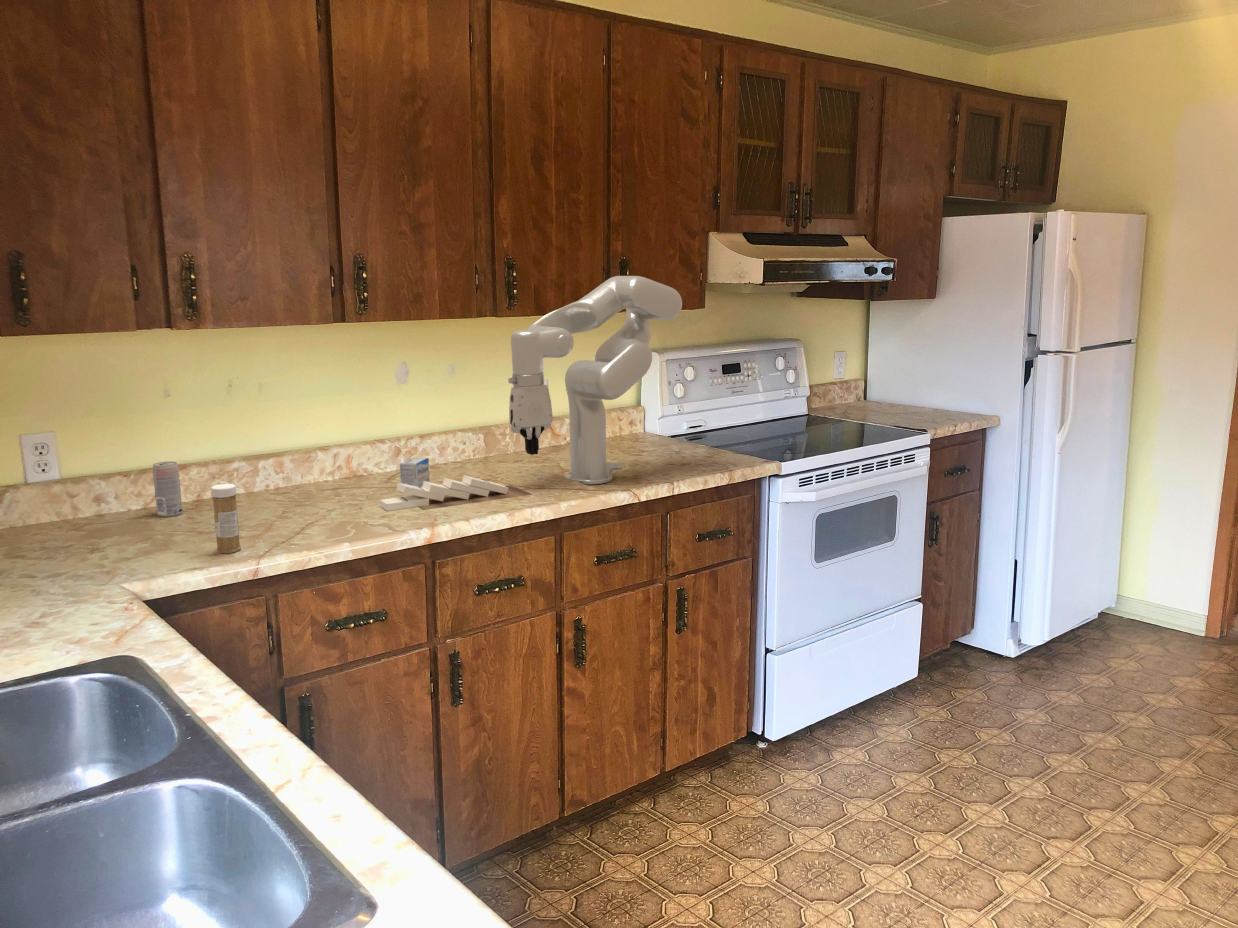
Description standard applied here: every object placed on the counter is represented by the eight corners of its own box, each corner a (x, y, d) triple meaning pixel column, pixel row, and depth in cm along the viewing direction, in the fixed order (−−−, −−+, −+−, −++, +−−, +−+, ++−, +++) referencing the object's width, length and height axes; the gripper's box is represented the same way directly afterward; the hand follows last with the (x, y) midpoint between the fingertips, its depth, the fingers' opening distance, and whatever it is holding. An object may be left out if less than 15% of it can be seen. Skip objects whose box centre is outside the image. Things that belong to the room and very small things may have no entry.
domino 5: (499, 483, 239) (463, 474, 234) (508, 487, 235) (472, 478, 229) (497, 490, 239) (461, 481, 234) (506, 494, 235) (469, 485, 229)
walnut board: (511, 489, 245) (511, 485, 245) (532, 498, 235) (532, 494, 235) (405, 504, 231) (405, 499, 230) (423, 514, 221) (422, 509, 220)
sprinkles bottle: (218, 548, 195) (212, 483, 192) (242, 546, 196) (236, 482, 194) (215, 555, 191) (209, 488, 188) (239, 553, 192) (234, 487, 189)
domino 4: (481, 486, 237) (444, 477, 231) (489, 490, 232) (452, 481, 227) (479, 493, 237) (442, 484, 231) (487, 497, 232) (450, 488, 227)
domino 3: (461, 488, 234) (423, 480, 228) (469, 492, 230) (431, 484, 224) (459, 495, 234) (421, 487, 228) (467, 500, 230) (429, 491, 224)
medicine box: (418, 498, 237) (416, 463, 235) (401, 497, 238) (399, 463, 236) (430, 491, 245) (429, 457, 243) (414, 490, 245) (412, 457, 244)
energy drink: (177, 510, 227) (172, 460, 224) (186, 514, 223) (181, 463, 221) (153, 514, 223) (148, 463, 221) (162, 518, 219) (156, 466, 217)
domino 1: (421, 493, 229) (379, 499, 224) (428, 497, 224) (386, 503, 219) (421, 501, 229) (380, 506, 224) (429, 505, 225) (387, 511, 220)
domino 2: (437, 490, 231) (398, 482, 225) (444, 494, 226) (405, 486, 221) (435, 497, 231) (396, 489, 225) (442, 501, 227) (403, 493, 221)
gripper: (508, 385, 230) (512, 460, 234) (562, 379, 238) (565, 452, 242) (494, 382, 236) (498, 455, 240) (547, 376, 244) (551, 447, 248)
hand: (532, 453), depth 241 cm, fingers closed
